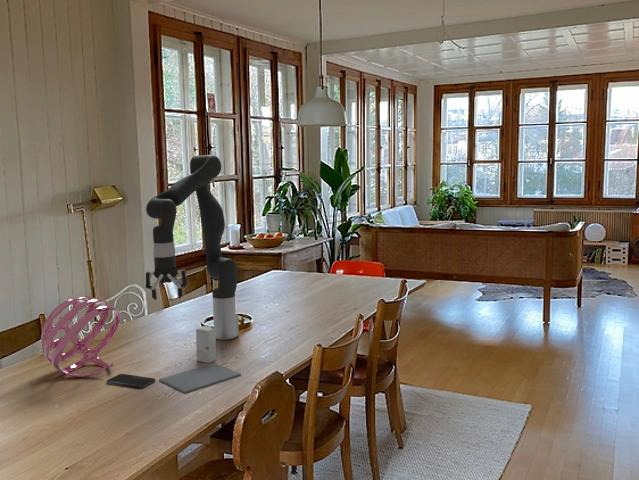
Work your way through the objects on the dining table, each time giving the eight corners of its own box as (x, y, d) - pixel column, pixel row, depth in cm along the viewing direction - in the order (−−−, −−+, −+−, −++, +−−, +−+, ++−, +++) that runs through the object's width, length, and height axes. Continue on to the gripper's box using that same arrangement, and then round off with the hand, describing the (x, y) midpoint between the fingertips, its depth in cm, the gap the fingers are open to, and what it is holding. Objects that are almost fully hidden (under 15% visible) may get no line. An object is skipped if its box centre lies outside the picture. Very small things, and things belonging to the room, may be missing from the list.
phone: (141, 387, 197) (105, 381, 203) (141, 390, 197) (105, 384, 203) (156, 378, 204) (121, 373, 210) (157, 381, 204) (121, 376, 210)
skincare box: (196, 360, 224) (194, 328, 222) (204, 357, 228) (202, 325, 226) (209, 363, 221) (207, 330, 219) (217, 359, 225) (215, 327, 223)
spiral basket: (150, 315, 213) (96, 269, 219) (87, 356, 191) (28, 303, 197) (134, 364, 229) (83, 320, 235) (74, 407, 207) (19, 357, 213)
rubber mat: (213, 364, 219) (213, 362, 219) (240, 375, 208) (240, 373, 208) (159, 380, 204) (159, 379, 204) (185, 393, 193) (184, 391, 193)
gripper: (185, 251, 222) (188, 295, 225) (145, 253, 221) (149, 297, 223) (183, 255, 215) (186, 300, 217) (142, 257, 213) (145, 302, 216)
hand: (167, 298), depth 220 cm, fingers open, 8 cm apart
